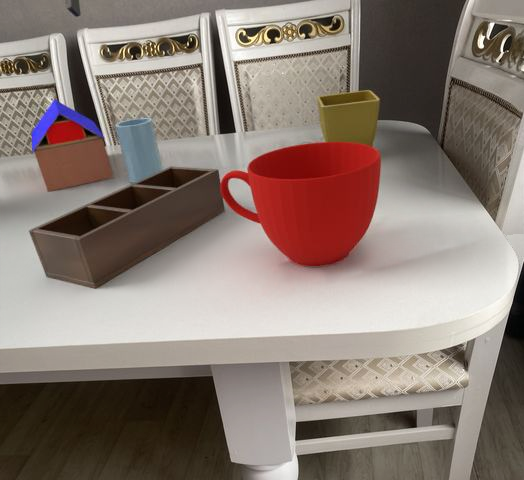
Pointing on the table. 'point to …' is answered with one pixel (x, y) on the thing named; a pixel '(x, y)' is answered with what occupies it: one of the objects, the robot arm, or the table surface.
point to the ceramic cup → (312, 198)
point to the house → (69, 148)
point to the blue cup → (139, 148)
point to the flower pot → (349, 117)
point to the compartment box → (127, 225)
